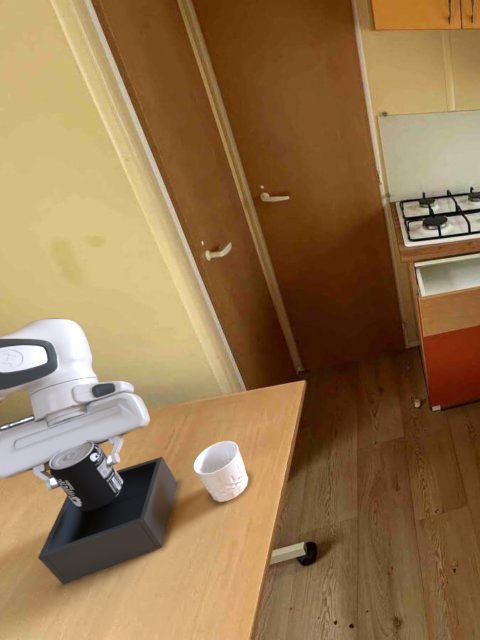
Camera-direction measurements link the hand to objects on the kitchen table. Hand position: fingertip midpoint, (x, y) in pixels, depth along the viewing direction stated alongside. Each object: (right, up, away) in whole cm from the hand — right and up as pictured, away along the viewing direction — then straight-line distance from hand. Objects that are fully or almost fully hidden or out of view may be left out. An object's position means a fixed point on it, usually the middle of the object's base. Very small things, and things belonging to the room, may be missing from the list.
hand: (85, 475), depth 76 cm
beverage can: (0, -6, +4) cm, 7 cm away
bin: (0, -15, +8) cm, 17 cm away
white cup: (+15, -11, +16) cm, 25 cm away
